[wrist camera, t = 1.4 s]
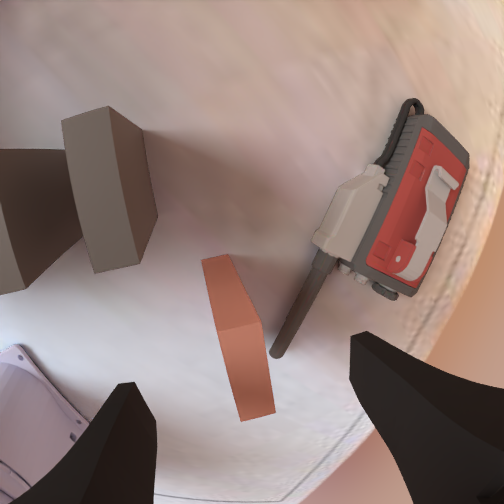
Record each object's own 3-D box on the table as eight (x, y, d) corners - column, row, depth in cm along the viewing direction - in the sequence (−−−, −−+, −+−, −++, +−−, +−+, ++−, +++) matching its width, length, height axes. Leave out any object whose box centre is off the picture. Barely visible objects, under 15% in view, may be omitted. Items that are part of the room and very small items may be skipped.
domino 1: (67, 149, 14) (-9, 149, 7) (85, 234, 16) (25, 288, 9) (44, 157, 14) (-38, 164, 7) (62, 240, 16) (-4, 296, 8)
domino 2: (141, 129, 15) (108, 105, 8) (157, 216, 17) (139, 263, 9) (114, 136, 15) (60, 120, 7) (130, 223, 17) (94, 273, 9)
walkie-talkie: (377, 81, 17) (254, 342, 21) (419, 70, 13) (271, 383, 17) (453, 147, 20) (347, 364, 24) (493, 150, 16) (373, 397, 20)
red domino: (228, 254, 18) (261, 321, 11) (241, 326, 20) (275, 412, 12) (200, 259, 18) (216, 332, 11) (217, 331, 20) (240, 421, 12)
